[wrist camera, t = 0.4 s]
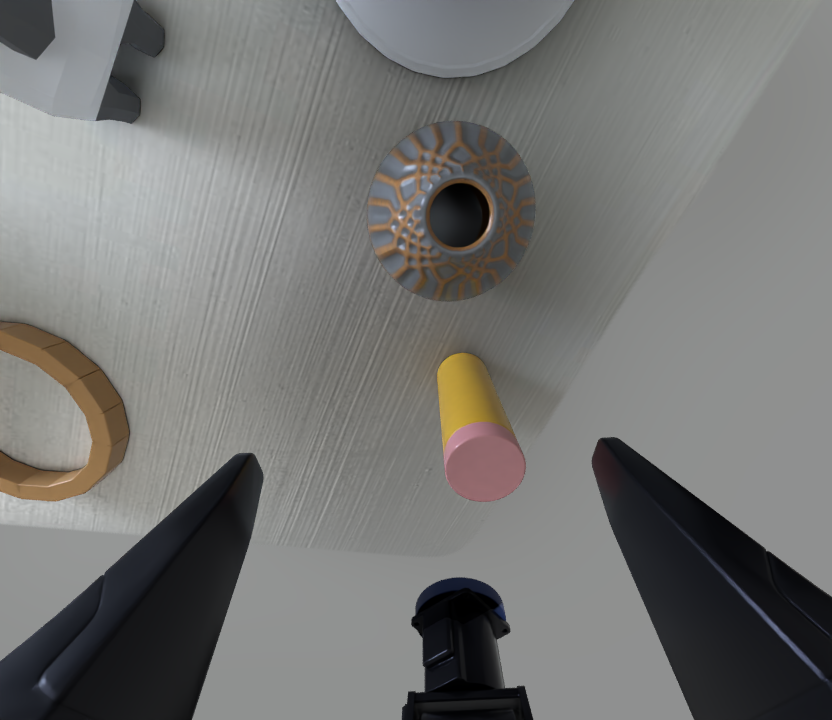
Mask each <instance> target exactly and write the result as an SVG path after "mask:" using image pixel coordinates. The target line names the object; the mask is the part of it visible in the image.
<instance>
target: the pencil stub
mask: <svg viewBox="0 0 832 720" xmlns="http://www.w3.org/2000/svg"><path fill="white" fill-rule="evenodd" d="M437 382H438V394H439V406H440V418H441V430H442V442H443V454H444V466H445V475H446V479H447V481H448V483H449V485H450V486H451V487H452V489H453V490H454V491H455V492H456V493H458V494H459V495H461V496H462V497H464V498H466V499H469V500H473V501H479V502H488V501H495V500H498V499H501V498H503V497H505V496H507V495H509V494H510V493H512V492H513V491H514V490H515V489H516V488H517V487H518V486H519V485H520V483H521V482H522V480H523V477H524V474H525V469H526V463H525V458H524V455H523V453H522V450H521V448H520V446H519V443H518V441H517V439H516V436H515V434H514V432H513V429H512V427H511V425H510V423H509V420H508V418H507V416H506V413H505V411H504V409H503V406H502V404H501V402H500V399H499V397H498V395H497V392H496V390H495V388H494V385H493V383H492V381H491V378H490V376H489V374H488V371H487V369H486V367H485V365H484V363H483V362H482V361H481V360H480V359H479V358H478V357H476V356H475V355H472V354H469V353H458V354H454V355H451V356H450V357H448V358H446V359H445V360H444V361H443V362H442V364H441V365H440V367H439V369H438V373H437Z"/></svg>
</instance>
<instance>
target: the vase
mask: <svg viewBox="0 0 832 720" xmlns="http://www.w3.org/2000/svg"><path fill="white" fill-rule="evenodd" d="M535 212H536V202H535V193H534V188H533V184H532V180H531V177H530V174H529V172H528V170H527V167H526V165H525V164H524V162H523V160H522V158H521V157H520V155H519V154H518V153H517V151H516V150H515V149H514V148H513V147H512V146H511V144H509V143H508V142H507V141H506V140H505V139H504V138H503V137H501V136H500V135H499V134H497V133H495V132H494V131H492V130H490V129H488V128H486V127H484V126H481V125H478V124H475V123H471V122H465V121H444V122H437V123H434V124H430V125H427V126H424V127H422V128H420V129H418V130H416V131H414V132H412V133H410V134H409V135H407V136H406V137H405V138H403V139H402V140H401V141H400V142H398V143H397V144H396V145H395V146H394V147H393V148H392V150H391V151H390V152H389V153H388V154H387V156H386V157H385V158H384V160H383V161H382V163H381V164H380V166H379V168H378V170H377V172H376V174H375V176H374V179H373V182H372V184H371V188H370V192H369V197H368V204H367V225H368V231H369V236H370V240H371V243H372V246H373V249H374V251H375V254H376V256H377V258H378V259H379V261H380V263H381V264H382V266H383V267H384V269H385V270H386V271H387V272H388V274H389V275H390V276H391V277H392V278H393V279H394V280H395V281H396V282H397V283H399V284H400V285H401V286H402V287H404V288H405V289H407V290H408V291H410V292H412V293H414V294H416V295H419V296H421V297H424V298H427V299H431V300H436V301H460V300H465V299H469V298H473V297H475V296H478V295H481V294H483V293H485V292H487V291H489V290H490V289H492V288H494V287H495V286H497V285H498V284H499V283H500V282H502V281H503V280H504V279H505V278H506V277H507V276H508V275H509V274H510V273H511V272H512V271H513V270H514V268H515V267H516V266H517V264H518V263H519V262H520V260H521V258H522V257H523V255H524V253H525V251H526V249H527V247H528V244H529V242H530V239H531V236H532V232H533V228H534V223H535Z"/></svg>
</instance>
